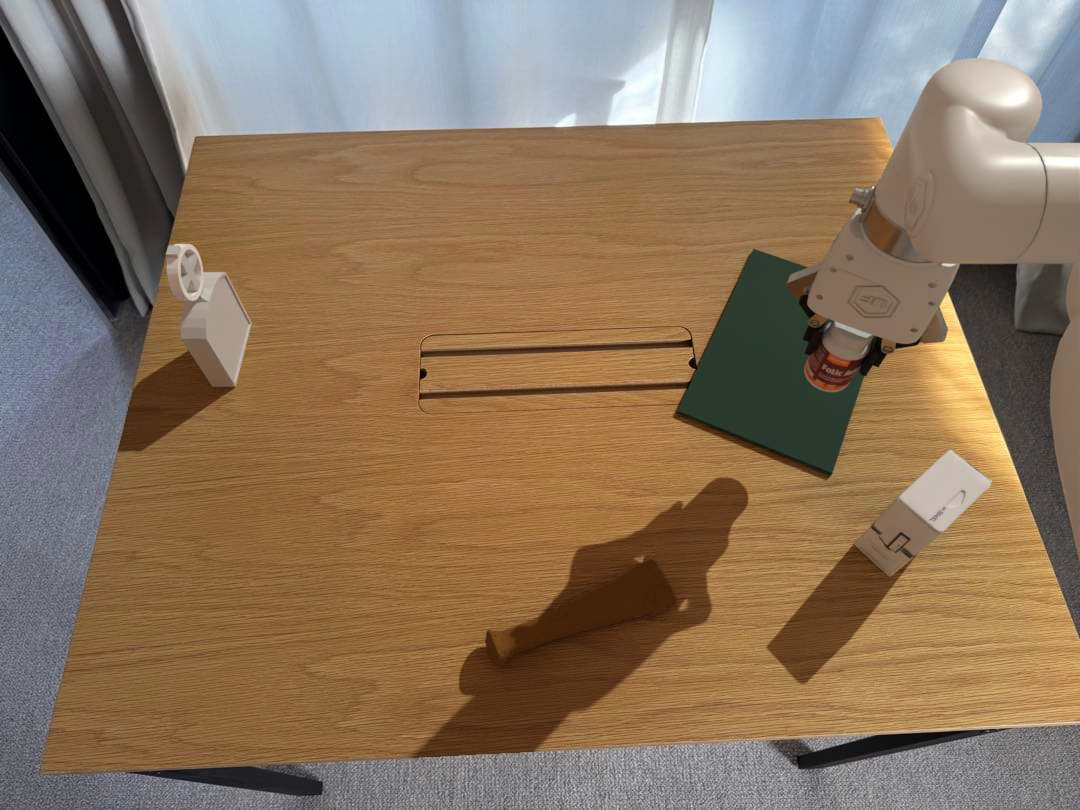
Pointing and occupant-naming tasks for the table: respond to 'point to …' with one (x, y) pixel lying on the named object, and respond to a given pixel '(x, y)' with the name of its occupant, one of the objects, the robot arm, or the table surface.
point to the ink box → (923, 512)
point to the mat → (768, 373)
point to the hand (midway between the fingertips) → (838, 353)
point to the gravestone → (208, 316)
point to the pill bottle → (837, 357)
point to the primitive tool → (588, 611)
